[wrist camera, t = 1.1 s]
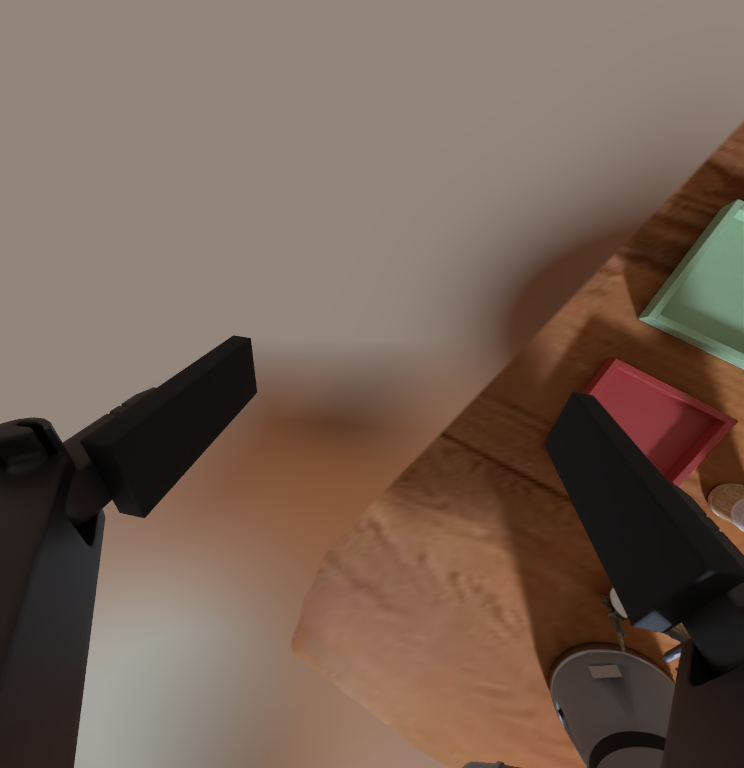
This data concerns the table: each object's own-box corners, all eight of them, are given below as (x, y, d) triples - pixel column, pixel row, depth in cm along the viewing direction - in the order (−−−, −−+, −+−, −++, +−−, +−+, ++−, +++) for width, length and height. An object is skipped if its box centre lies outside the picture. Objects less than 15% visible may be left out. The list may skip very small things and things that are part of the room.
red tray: (722, 416, 35) (739, 420, 33) (642, 505, 38) (653, 514, 36) (607, 357, 37) (616, 357, 35) (541, 445, 40) (545, 450, 38)
